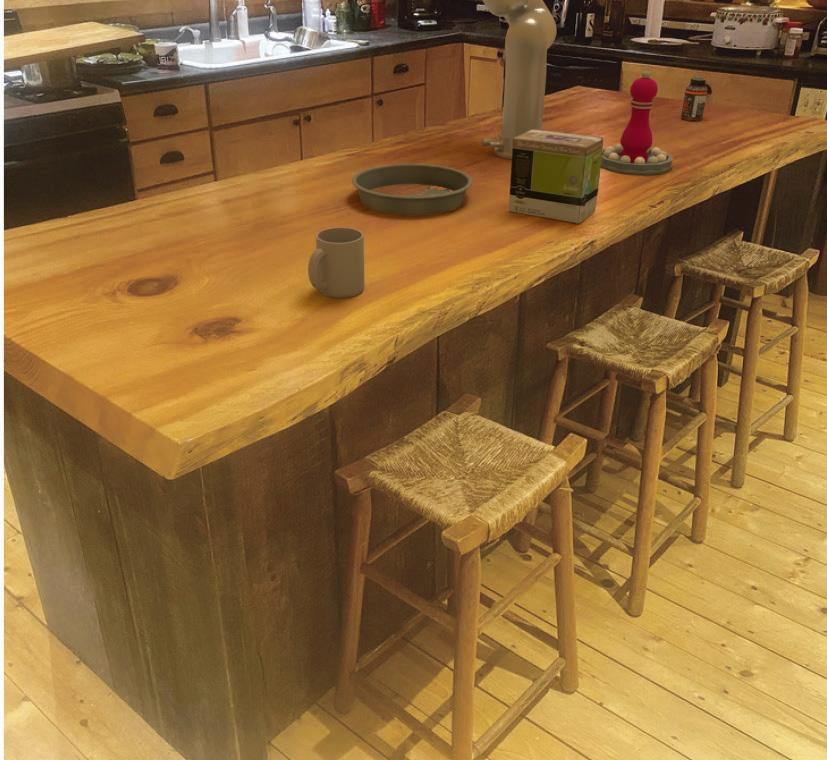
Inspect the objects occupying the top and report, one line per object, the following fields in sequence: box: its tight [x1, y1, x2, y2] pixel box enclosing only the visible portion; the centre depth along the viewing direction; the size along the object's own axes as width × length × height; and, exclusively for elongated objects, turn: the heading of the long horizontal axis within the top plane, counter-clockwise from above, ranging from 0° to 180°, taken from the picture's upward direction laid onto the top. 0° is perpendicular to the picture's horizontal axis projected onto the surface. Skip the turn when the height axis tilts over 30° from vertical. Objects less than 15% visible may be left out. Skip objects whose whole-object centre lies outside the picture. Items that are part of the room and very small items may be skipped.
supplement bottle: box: [680, 76, 708, 122], centre depth 237 cm, size 6×6×11 cm
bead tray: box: [600, 143, 674, 177], centre depth 195 cm, size 17×17×4 cm
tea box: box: [508, 129, 604, 224], centre depth 162 cm, size 15×10×15 cm
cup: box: [307, 226, 365, 299], centre depth 127 cm, size 7×10×9 cm
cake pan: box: [351, 163, 473, 217], centre depth 171 cm, size 25×25×4 cm
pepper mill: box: [619, 69, 659, 163], centre depth 190 cm, size 7×7×20 cm
